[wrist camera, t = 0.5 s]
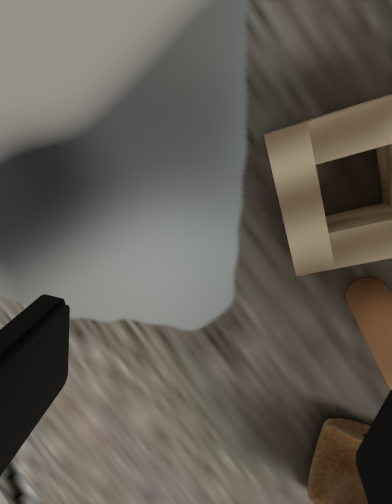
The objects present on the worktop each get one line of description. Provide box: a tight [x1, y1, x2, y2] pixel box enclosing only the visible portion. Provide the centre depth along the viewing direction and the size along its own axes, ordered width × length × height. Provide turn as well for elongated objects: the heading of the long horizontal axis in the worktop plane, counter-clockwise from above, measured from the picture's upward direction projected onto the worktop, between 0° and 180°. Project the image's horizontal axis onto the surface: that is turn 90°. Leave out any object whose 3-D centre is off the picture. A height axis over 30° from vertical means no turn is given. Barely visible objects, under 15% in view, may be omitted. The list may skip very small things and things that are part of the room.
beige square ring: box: [263, 94, 392, 276], centre depth 27 cm, size 12×12×5 cm
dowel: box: [346, 277, 392, 390], centre depth 27 cm, size 4×4×12 cm
